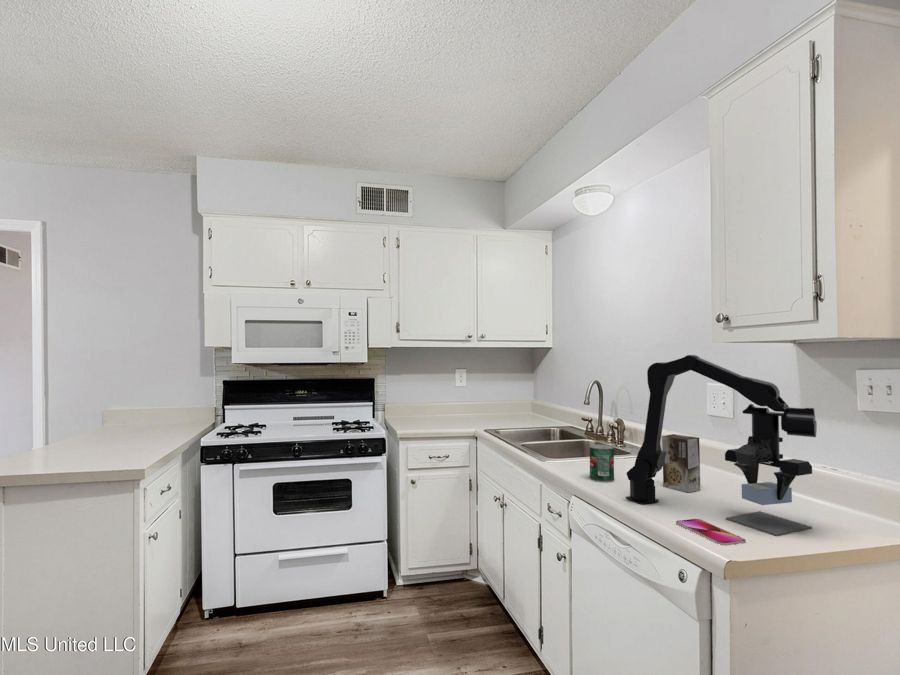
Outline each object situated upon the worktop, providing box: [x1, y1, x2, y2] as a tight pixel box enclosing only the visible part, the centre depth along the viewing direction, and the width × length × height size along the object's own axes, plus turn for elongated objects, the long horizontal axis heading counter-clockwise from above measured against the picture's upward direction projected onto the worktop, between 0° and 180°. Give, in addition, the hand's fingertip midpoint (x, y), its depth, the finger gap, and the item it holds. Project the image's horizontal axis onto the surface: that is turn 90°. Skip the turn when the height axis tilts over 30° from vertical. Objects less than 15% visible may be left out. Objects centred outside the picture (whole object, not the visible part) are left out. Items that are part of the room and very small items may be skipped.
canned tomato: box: [589, 443, 615, 483], centre depth 169 cm, size 8×8×11 cm
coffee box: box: [661, 433, 701, 493], centre depth 158 cm, size 9×6×16 cm
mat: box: [725, 510, 813, 537], centre depth 125 cm, size 13×13×1 cm
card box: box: [741, 481, 793, 506], centre depth 125 cm, size 9×6×4 cm, turn 105°
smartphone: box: [675, 518, 747, 546], centre depth 119 cm, size 7×1×15 cm
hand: (766, 496), depth 125 cm, fingers closed on card box, 6 cm apart
